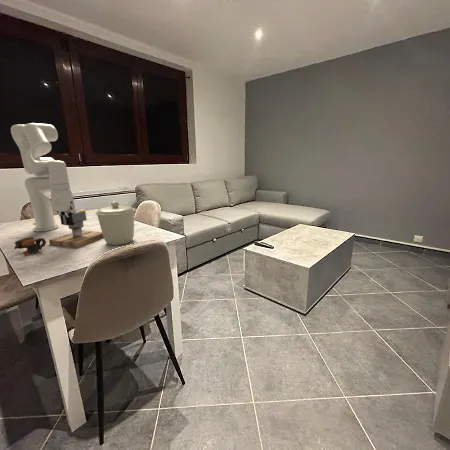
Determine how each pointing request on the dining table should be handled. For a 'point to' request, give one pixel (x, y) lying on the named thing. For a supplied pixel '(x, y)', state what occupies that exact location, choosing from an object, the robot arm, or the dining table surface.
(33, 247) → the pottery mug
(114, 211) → the canister
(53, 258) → the dining table surface
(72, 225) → the cap
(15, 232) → the dining table surface
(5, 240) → the dining table surface
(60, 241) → the base
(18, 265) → the dining table surface
